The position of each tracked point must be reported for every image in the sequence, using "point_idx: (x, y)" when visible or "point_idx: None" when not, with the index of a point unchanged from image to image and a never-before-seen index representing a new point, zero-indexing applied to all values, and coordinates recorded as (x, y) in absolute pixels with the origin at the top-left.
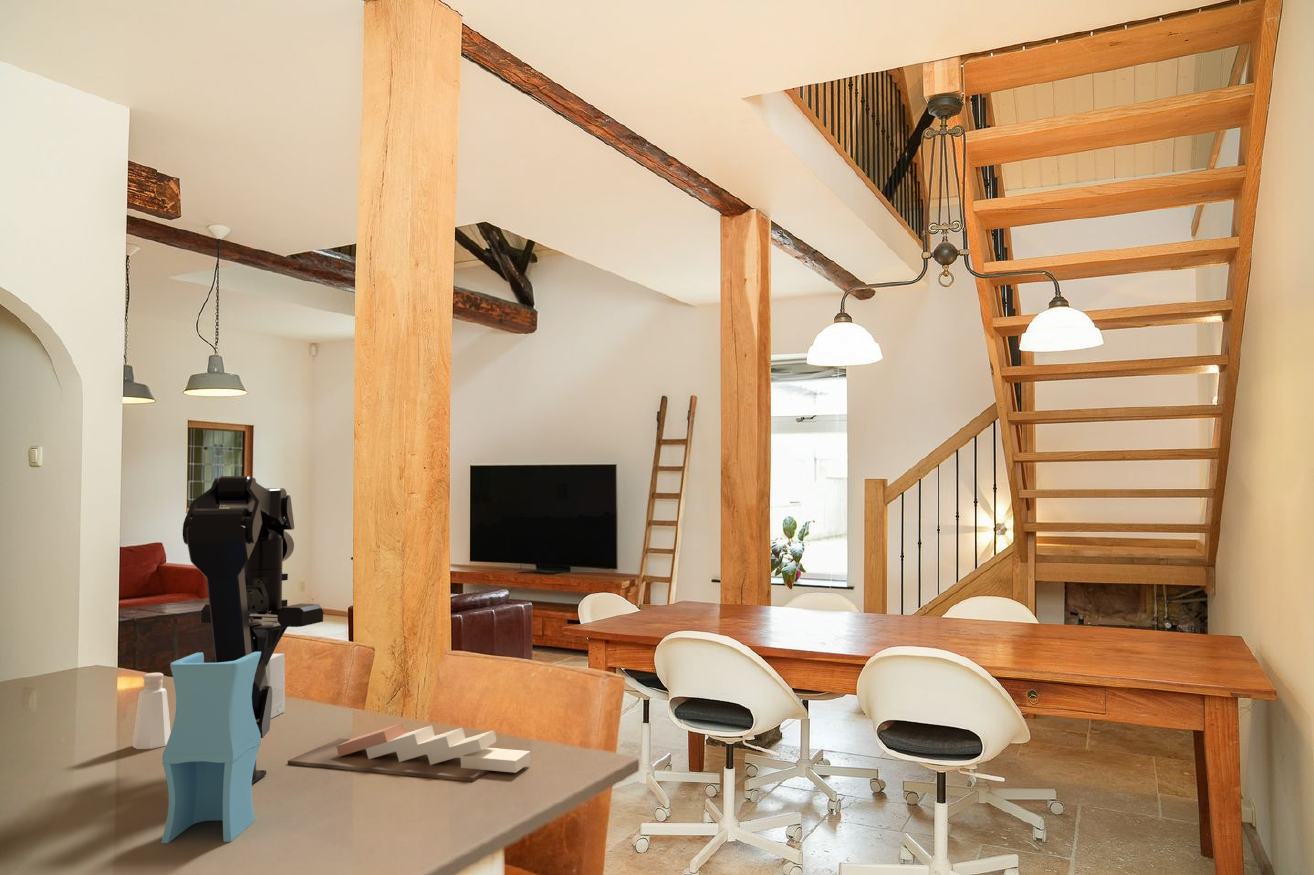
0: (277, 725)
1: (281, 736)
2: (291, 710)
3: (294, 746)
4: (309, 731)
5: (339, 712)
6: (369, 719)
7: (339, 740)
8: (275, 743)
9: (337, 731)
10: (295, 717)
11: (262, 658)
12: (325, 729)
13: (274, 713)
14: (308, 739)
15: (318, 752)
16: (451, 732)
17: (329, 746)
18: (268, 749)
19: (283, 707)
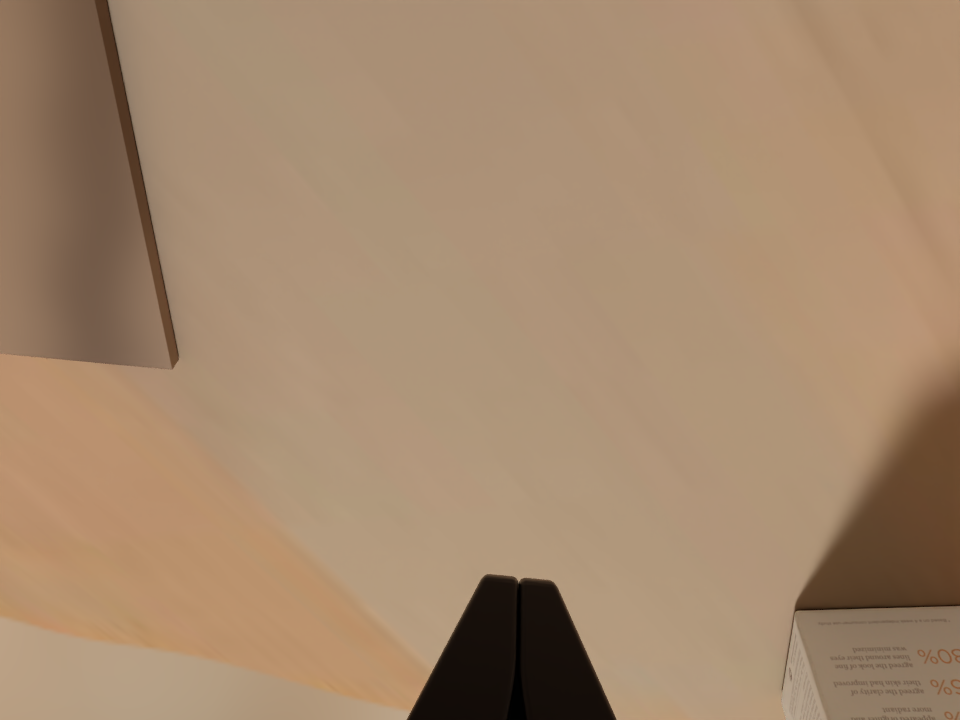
0: (699, 546)
1: (558, 400)
2: (764, 714)
3: (351, 252)
4: (466, 484)
5: None
6: (323, 642)
7: (137, 338)
8: (504, 286)
9: (327, 497)
10: (683, 644)
11: (418, 705)
12: (409, 517)
13: (792, 653)
14: (371, 373)
15: (42, 106)
16: None
17: (89, 230)
18: (464, 173)
19: (786, 710)
